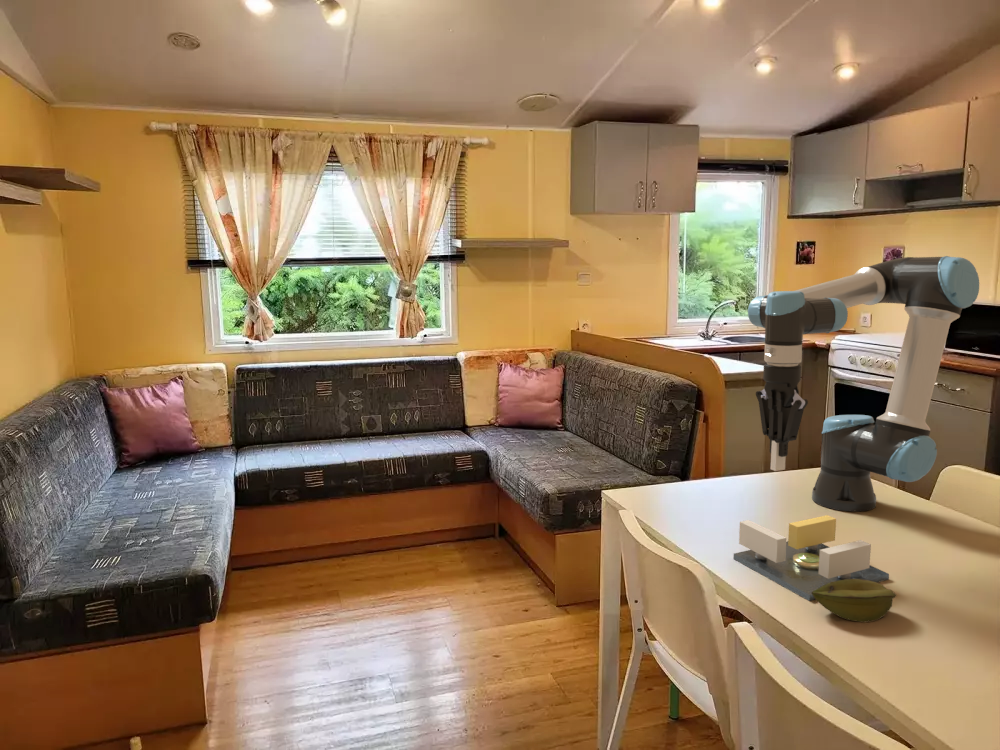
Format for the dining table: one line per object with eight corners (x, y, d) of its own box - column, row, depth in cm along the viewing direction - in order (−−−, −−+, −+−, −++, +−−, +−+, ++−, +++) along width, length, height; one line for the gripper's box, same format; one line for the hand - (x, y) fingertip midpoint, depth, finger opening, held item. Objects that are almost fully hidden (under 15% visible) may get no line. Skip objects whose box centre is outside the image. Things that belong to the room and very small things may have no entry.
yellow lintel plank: (825, 541, 157) (827, 515, 156) (834, 545, 155) (836, 518, 154) (787, 550, 153) (789, 523, 152) (796, 554, 151) (797, 527, 150)
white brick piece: (858, 568, 143) (860, 540, 142) (869, 573, 141) (871, 544, 140) (818, 579, 139) (819, 549, 138) (827, 584, 137) (829, 554, 136)
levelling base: (807, 541, 161) (807, 530, 160) (888, 579, 142) (889, 566, 141) (733, 558, 153) (733, 546, 153) (809, 601, 134) (810, 587, 133)
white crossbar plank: (738, 548, 155) (739, 521, 154) (747, 546, 155) (748, 520, 154) (776, 568, 145) (777, 539, 144) (785, 566, 145) (786, 537, 144)
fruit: (881, 637, 121) (883, 601, 120) (808, 615, 129) (810, 581, 128) (897, 611, 129) (900, 577, 128) (828, 592, 137) (830, 560, 136)
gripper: (747, 361, 156) (743, 463, 160) (792, 369, 144) (786, 480, 148) (773, 358, 159) (769, 459, 163) (819, 366, 147) (813, 475, 151)
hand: (777, 469), depth 156 cm, fingers closed
